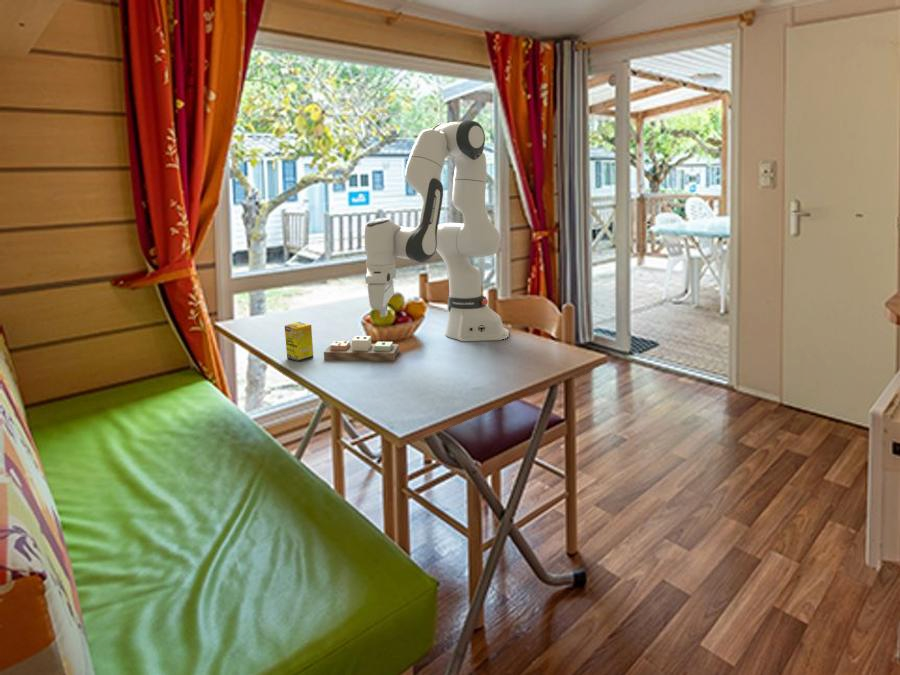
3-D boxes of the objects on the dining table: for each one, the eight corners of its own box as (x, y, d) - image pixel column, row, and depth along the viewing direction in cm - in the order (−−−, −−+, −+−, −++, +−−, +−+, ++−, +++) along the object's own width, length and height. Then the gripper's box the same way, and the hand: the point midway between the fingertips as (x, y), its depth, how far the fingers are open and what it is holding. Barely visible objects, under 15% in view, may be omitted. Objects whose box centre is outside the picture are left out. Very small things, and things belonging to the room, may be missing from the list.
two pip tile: (371, 348, 201) (370, 335, 200) (368, 352, 196) (367, 339, 195) (356, 347, 202) (355, 335, 201) (352, 352, 197) (351, 339, 196)
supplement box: (286, 359, 197) (283, 325, 194) (301, 354, 202) (299, 321, 199) (298, 362, 194) (296, 328, 191) (313, 357, 198) (311, 324, 195)
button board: (399, 351, 203) (398, 344, 203) (393, 361, 194) (393, 353, 193) (332, 350, 205) (332, 343, 205) (324, 359, 196) (323, 352, 195)
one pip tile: (393, 353, 201) (392, 340, 200) (390, 358, 196) (389, 345, 195) (377, 353, 202) (377, 340, 200) (374, 358, 197) (374, 345, 196)
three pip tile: (350, 353, 202) (349, 340, 201) (346, 357, 198) (345, 344, 196) (335, 352, 203) (334, 340, 202) (331, 357, 198) (330, 344, 197)
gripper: (377, 266, 202) (380, 307, 206) (363, 279, 182) (367, 324, 187) (397, 265, 201) (399, 307, 205) (385, 279, 182) (387, 324, 186)
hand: (383, 316), depth 196 cm, fingers closed
